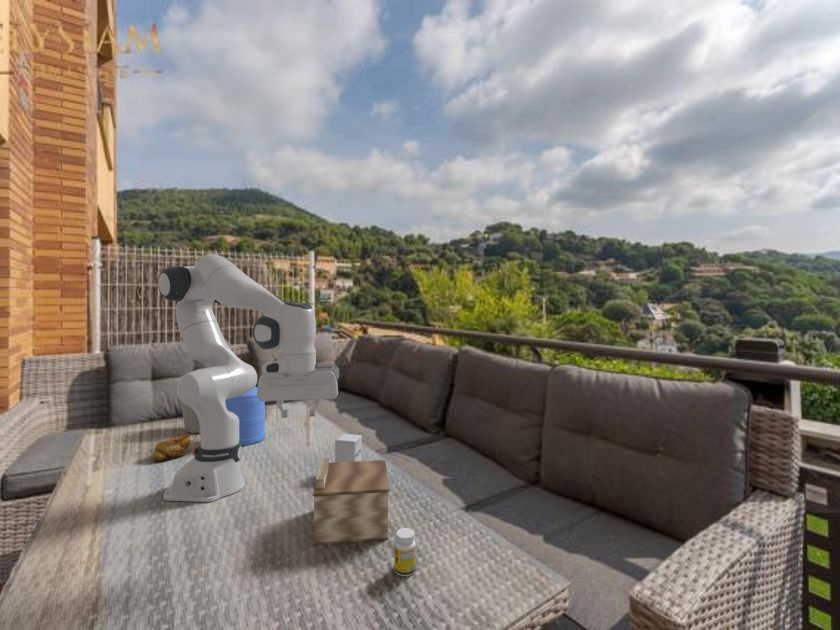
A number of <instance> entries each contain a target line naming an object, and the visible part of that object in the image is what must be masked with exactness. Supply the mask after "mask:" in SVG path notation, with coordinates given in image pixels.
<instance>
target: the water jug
mask: <svg viewBox="0 0 840 630" xmlns="http://www.w3.org/2000/svg"><path fill="white" fill-rule="evenodd" d="M257 388H258V386H255V388H254V389H253V390H251V391H249V392H247V393H245V394H243V395H241V396H238V397H234V398H230V399H226V400H225V404H226V408H227V410H228V411H230V412H232V413H234V414H236V415H237V416H238V418H239V440H240V441H241V447H242V446H243V447H244V446H249V445H255V444H257V443H259V442H262V441H263V440H264V439H265V437H266V425H265V424H266V423H265V422H266V409H265V406H266V405H265V404H266V401H260V400H259V399H258V398H257Z"/></svg>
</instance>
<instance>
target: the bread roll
mask: <svg viewBox="0 0 840 630" xmlns="http://www.w3.org/2000/svg"><path fill="white" fill-rule="evenodd" d="M191 443H192V441H191V437H190V435H189V434H185V435H181V436H179V437H173V438H169V439H167V440H161V441H160V442H158V443H157V444H156V445H155V448H154V452H153V453H152V455H151V459H152V460H153V461H154V462H164V461H167V460H169V459H178V458H180V457H183V456H185V455H186V454H187V452H188V449H189V447H190V446H191V445H192V444H191Z"/></svg>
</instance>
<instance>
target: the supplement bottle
mask: <svg viewBox="0 0 840 630" xmlns="http://www.w3.org/2000/svg"><path fill="white" fill-rule="evenodd" d="M416 550H417V543H416V540H415V531H414V530H413V529H411V528H409V527H402V528H399V529H398V530H397V531H396V533H395V541H394V565H393V566H394V572H395V574H396V573H397V574H396V575H397V576H399V575H401V576H400V577H403V576H406V577H410V576H412V575H413V573H414V574H415V572H416V570H417V569H416V567H417V566H416V565H417V561H416V560H417V551H416ZM409 575H410V576H409Z"/></svg>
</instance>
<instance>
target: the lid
mask: <svg viewBox="0 0 840 630" xmlns="http://www.w3.org/2000/svg"><path fill="white" fill-rule="evenodd" d="M329 461H330V459H329V457H321V458H320V463H319V466H318V468H317V469H318V470H317V473H316V474H317V475H316V477H315V483H314V487H313V490H312V497H314V496H321V495H337V494H354V493H370V492H386V491H388V492H390V484H389V476H388V470H387V464H386V459H381V460H378V459H377V460H362V461H356V462H336V463H335V462H329Z"/></svg>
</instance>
